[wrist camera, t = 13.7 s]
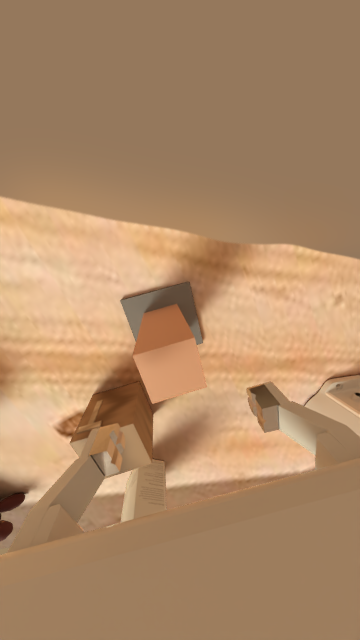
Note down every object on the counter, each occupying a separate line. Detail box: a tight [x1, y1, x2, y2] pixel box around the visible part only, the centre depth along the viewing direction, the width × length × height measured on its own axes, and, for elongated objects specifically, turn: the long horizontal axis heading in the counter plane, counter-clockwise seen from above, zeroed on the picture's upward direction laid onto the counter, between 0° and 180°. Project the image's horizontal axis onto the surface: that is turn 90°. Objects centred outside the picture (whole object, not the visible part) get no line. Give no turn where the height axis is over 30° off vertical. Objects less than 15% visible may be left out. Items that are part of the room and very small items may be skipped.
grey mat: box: [121, 282, 203, 345], centre depth 25 cm, size 10×10×1 cm
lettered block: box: [70, 382, 153, 479], centre depth 26 cm, size 8×8×8 cm
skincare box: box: [121, 459, 166, 522], centre depth 28 cm, size 8×6×15 cm
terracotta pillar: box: [133, 304, 207, 404], centre depth 19 cm, size 5×5×12 cm
